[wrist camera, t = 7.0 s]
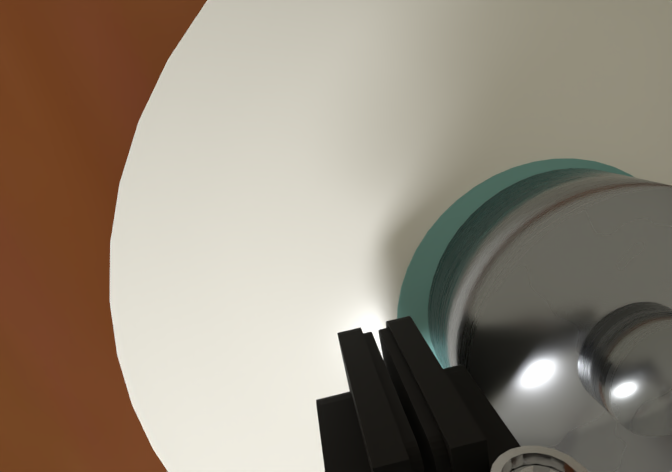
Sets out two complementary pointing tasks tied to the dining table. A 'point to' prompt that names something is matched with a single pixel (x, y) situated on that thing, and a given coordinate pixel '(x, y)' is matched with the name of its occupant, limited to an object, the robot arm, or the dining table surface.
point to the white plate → (344, 189)
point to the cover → (567, 314)
